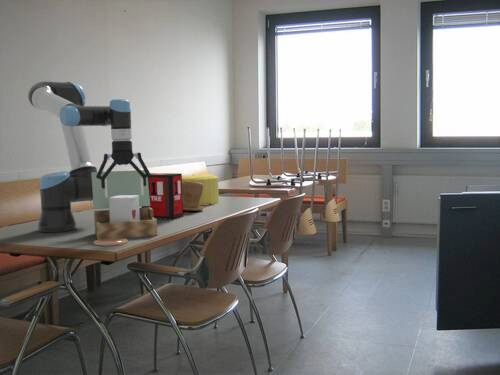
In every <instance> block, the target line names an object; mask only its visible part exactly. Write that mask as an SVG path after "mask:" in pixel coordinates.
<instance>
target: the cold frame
mask: <svg viewBox="0 0 500 375" xmlns="http://www.w3.org/2000/svg"><path fill="white" fill-rule="evenodd" d="M139 211H140V221H128V222H113V223H110V210H109V209H98V210H93V217H94V218H93V220H94V234H95V236H96V240H99V239H105V238H125V239H127V238H129V239H130V238H131V237H132V238H143V236H145V237H156V236H155V235H157V236H158V219H155V218H154V217H153V209H152V208H151V207H148V208H141V207H139Z"/></svg>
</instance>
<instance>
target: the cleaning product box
mask: <svg viewBox="0 0 500 375" xmlns="http://www.w3.org/2000/svg"><path fill="white" fill-rule="evenodd" d="M150 174H151V175H150V176H148V187H149V197H150V206H140V208H148V207H151V208H152V209H153V217H154V218H155V219H156V220H170V219H171V220H177V219H181V218H183V217H184V211H183V198H182V176H183V175H182V174H183V173H171V172H170V173H164V172H163V173H158V172H157V173H155V172H153V173H152V172H150Z"/></svg>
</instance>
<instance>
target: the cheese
mask: <svg viewBox="0 0 500 375" xmlns="http://www.w3.org/2000/svg"><path fill="white" fill-rule="evenodd" d="M184 181H189V182H197V183H202V184H203V191H202V195H201V198H200V201H199V204H200V205H203V206H209V204H212V205H216V203H217V204H218V203H220V202H219V201H220V200H219V199H220V198H219V196H220V195H219V193H220V192H219V177H218V176H217V175H215V174H210V173H209V174H206V173H205V174H204V173H199V174H198V173H197V174H195V173H194V174H192V175H182V183H183V182H184ZM182 198H183V195H182Z"/></svg>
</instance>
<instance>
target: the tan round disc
mask: <svg viewBox="0 0 500 375" xmlns="http://www.w3.org/2000/svg"><path fill="white" fill-rule="evenodd" d="M128 242H129V241H128V239H127V238H105V239H99V240H98V239H96V240H94V241H93V245H95V246H98V247H112V246H121V245H125V244H127V243H128Z"/></svg>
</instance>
